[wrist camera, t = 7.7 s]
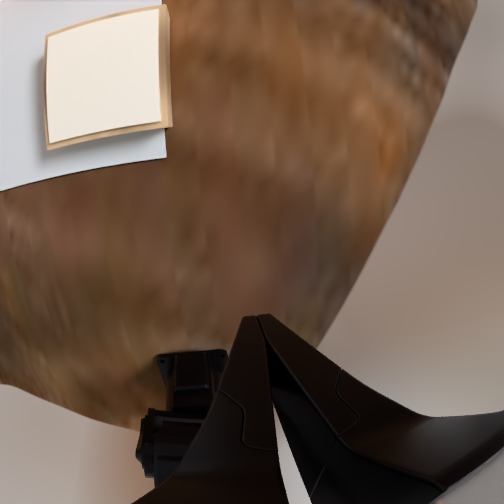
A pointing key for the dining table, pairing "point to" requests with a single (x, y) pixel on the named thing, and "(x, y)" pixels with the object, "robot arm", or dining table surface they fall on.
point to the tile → (108, 77)
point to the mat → (32, 97)
